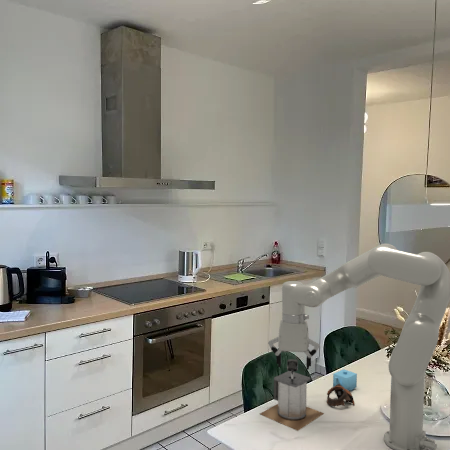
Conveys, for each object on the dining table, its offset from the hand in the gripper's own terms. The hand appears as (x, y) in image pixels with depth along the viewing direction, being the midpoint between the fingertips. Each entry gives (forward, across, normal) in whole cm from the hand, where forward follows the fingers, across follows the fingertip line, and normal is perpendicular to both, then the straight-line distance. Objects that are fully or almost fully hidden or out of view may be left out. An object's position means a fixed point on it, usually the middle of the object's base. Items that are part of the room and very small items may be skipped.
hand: (293, 367), depth 154 cm
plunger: (+14, +1, 0) cm, 14 cm away
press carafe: (+17, +2, -1) cm, 17 cm away
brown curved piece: (+18, -16, -14) cm, 28 cm away
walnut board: (+18, +1, 0) cm, 18 cm away
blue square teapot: (+18, -17, -27) cm, 37 cm away
